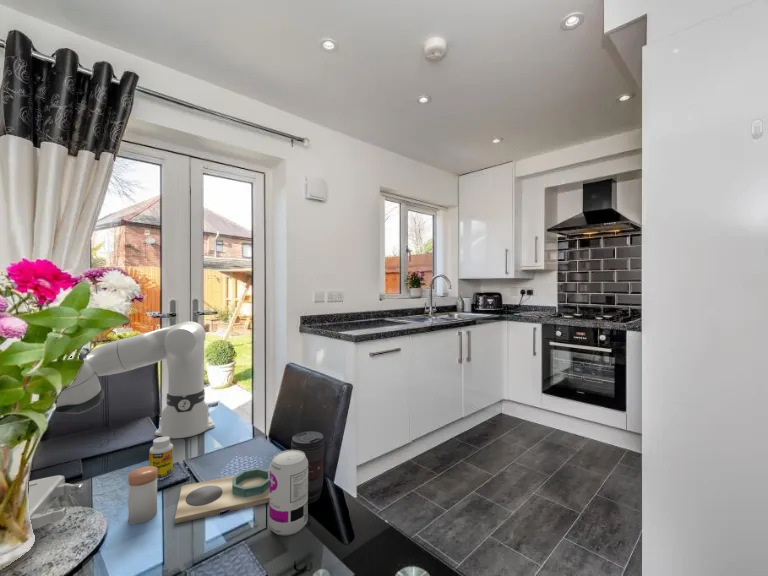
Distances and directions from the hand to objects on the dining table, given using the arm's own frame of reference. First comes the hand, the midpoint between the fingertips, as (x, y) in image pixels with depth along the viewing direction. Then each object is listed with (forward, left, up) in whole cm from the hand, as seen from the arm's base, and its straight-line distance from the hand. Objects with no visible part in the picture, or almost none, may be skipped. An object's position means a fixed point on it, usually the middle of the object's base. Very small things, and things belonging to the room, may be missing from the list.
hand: (74, 500), depth 76 cm
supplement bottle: (-18, +13, -7) cm, 24 cm away
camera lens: (+7, +48, -7) cm, 49 cm away
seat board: (-1, +30, -7) cm, 31 cm away
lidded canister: (0, +12, -7) cm, 14 cm away
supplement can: (+16, +42, -7) cm, 46 cm away
